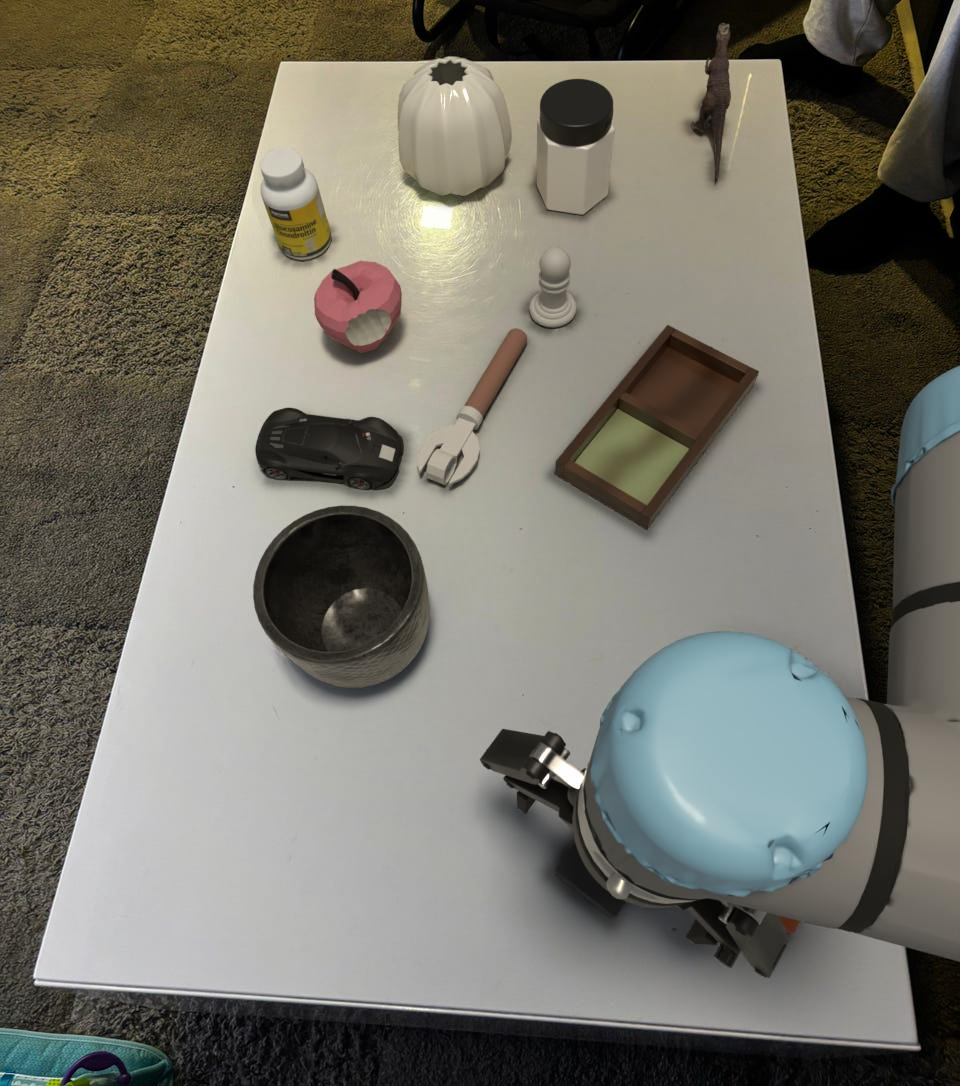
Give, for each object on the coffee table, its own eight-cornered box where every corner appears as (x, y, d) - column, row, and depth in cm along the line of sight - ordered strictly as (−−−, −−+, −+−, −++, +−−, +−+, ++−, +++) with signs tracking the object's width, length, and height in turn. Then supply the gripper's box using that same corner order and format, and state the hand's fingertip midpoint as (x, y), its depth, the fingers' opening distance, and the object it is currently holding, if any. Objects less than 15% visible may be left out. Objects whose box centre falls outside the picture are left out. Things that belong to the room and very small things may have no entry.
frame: (753, 386, 87) (759, 371, 85) (647, 530, 81) (650, 517, 78) (664, 340, 91) (667, 324, 88) (554, 474, 84) (555, 461, 82)
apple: (336, 379, 91) (315, 318, 82) (318, 322, 95) (296, 257, 86) (419, 354, 92) (406, 291, 83) (398, 299, 95) (384, 232, 86)
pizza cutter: (495, 336, 93) (494, 317, 90) (543, 352, 92) (544, 334, 89) (410, 475, 85) (406, 459, 82) (462, 496, 83) (460, 480, 81)
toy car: (394, 493, 84) (387, 471, 80) (254, 477, 86) (241, 455, 82) (408, 433, 87) (402, 409, 83) (273, 418, 89) (262, 394, 85)
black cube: (647, 860, 67) (655, 855, 63) (610, 919, 66) (615, 917, 62) (591, 818, 69) (595, 810, 65) (554, 874, 67) (555, 870, 63)
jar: (615, 208, 100) (625, 119, 89) (550, 223, 99) (553, 135, 88) (592, 159, 104) (599, 68, 93) (530, 173, 103) (530, 84, 92)
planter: (458, 585, 79) (445, 524, 67) (412, 724, 73) (389, 683, 62) (325, 551, 82) (290, 487, 70) (271, 683, 76) (223, 637, 64)
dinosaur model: (733, 13, 96) (757, 105, 90) (717, 101, 106) (738, 188, 101) (698, 18, 96) (720, 110, 90) (686, 105, 107) (705, 192, 101)
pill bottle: (271, 257, 100) (241, 177, 89) (292, 219, 102) (265, 137, 92) (321, 266, 98) (295, 186, 88) (340, 228, 101) (318, 146, 90)
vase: (445, 227, 100) (433, 129, 88) (383, 166, 105) (363, 66, 93) (534, 175, 103) (534, 74, 91) (469, 119, 108) (461, 16, 96)
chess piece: (585, 315, 93) (590, 255, 85) (546, 336, 92) (547, 278, 84) (558, 286, 95) (561, 225, 87) (520, 306, 94) (519, 246, 86)
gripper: (395, 718, 40) (437, 790, 59) (883, 1093, 32) (749, 1035, 51) (488, 601, 42) (499, 706, 61) (962, 925, 35) (806, 929, 54)
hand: (613, 856), depth 56 cm, fingers open, 13 cm apart
